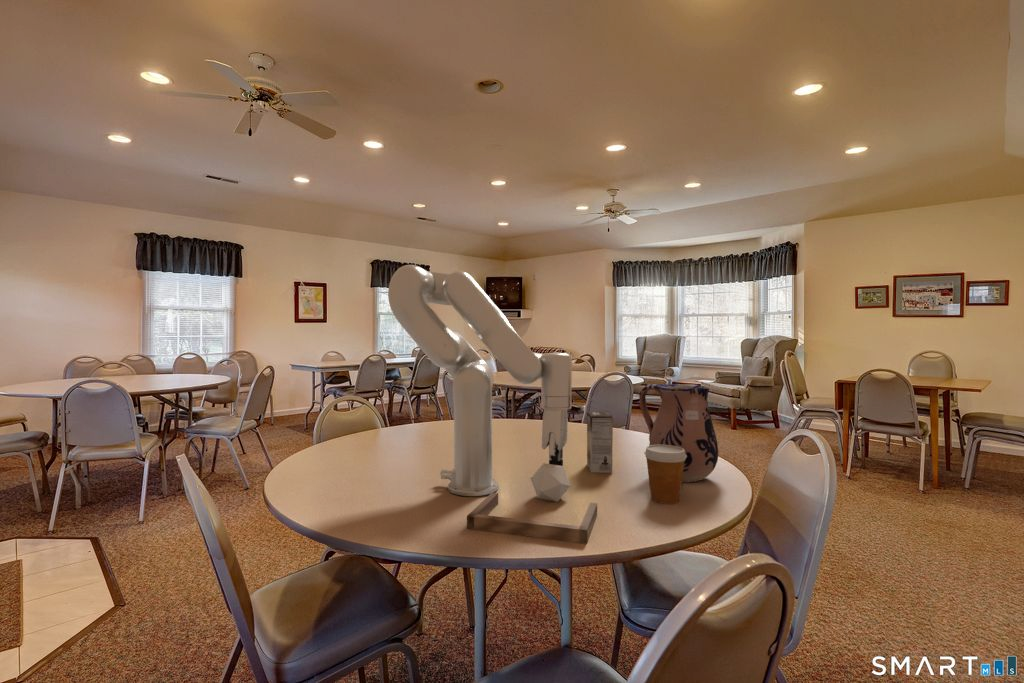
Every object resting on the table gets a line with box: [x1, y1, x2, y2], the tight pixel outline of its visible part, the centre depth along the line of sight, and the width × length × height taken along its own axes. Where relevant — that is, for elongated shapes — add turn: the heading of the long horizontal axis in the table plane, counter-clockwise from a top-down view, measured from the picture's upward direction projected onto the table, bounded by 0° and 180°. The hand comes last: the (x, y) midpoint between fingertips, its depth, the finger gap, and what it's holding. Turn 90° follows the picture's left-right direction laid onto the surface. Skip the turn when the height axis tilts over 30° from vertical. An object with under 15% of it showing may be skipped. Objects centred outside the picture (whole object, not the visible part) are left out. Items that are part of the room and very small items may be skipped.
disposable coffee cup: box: [644, 445, 687, 505], centre depth 114 cm, size 10×10×12 cm
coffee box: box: [586, 410, 614, 474], centre depth 140 cm, size 9×6×16 cm
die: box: [530, 462, 571, 503], centre depth 115 cm, size 8×9×10 cm
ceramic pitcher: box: [638, 383, 719, 483], centre depth 132 cm, size 18×21×25 cm
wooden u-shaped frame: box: [466, 492, 598, 545], centre depth 101 cm, size 24×15×2 cm, turn 73°
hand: (555, 475), depth 121 cm, fingers closed
